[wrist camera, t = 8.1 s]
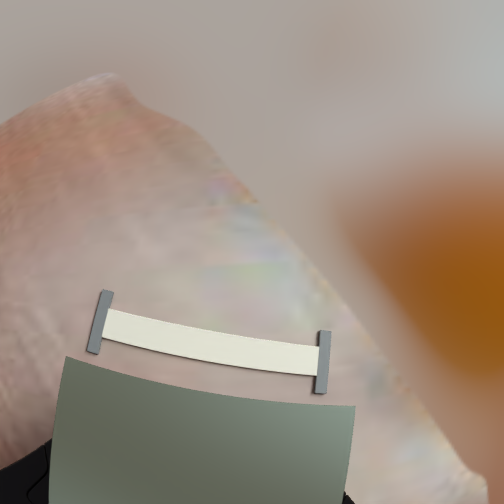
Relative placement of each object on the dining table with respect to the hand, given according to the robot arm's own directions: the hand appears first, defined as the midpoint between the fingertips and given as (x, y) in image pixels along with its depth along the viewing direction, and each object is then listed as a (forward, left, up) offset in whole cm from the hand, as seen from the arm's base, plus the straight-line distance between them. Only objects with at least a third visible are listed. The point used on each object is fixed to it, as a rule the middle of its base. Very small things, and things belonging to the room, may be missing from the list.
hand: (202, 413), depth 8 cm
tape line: (+2, +3, -11) cm, 11 cm away
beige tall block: (-1, -1, -7) cm, 7 cm away
